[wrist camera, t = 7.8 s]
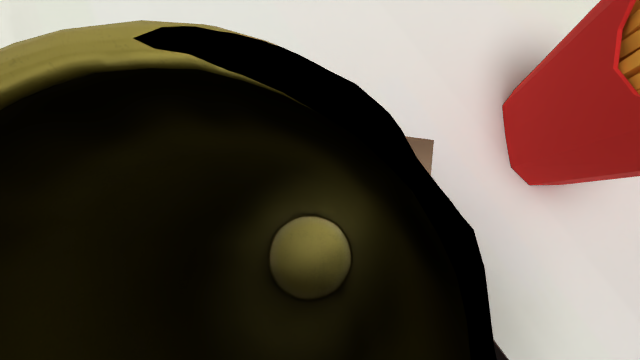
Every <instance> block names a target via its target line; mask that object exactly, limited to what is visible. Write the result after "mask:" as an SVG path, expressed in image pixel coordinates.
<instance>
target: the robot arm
mask: <svg viewBox="0 0 640 360" xmlns="http://www.w3.org/2000/svg"><path fill="white" fill-rule="evenodd" d="M493 341H494V340H493ZM494 348H495V353H496V358H497V360H509V359H508V358H507V357H506V355H505V354H504V353H503V351H502V350H501V349H500V347H499V346H498V345H497V344H496V342H495V341H494Z"/></svg>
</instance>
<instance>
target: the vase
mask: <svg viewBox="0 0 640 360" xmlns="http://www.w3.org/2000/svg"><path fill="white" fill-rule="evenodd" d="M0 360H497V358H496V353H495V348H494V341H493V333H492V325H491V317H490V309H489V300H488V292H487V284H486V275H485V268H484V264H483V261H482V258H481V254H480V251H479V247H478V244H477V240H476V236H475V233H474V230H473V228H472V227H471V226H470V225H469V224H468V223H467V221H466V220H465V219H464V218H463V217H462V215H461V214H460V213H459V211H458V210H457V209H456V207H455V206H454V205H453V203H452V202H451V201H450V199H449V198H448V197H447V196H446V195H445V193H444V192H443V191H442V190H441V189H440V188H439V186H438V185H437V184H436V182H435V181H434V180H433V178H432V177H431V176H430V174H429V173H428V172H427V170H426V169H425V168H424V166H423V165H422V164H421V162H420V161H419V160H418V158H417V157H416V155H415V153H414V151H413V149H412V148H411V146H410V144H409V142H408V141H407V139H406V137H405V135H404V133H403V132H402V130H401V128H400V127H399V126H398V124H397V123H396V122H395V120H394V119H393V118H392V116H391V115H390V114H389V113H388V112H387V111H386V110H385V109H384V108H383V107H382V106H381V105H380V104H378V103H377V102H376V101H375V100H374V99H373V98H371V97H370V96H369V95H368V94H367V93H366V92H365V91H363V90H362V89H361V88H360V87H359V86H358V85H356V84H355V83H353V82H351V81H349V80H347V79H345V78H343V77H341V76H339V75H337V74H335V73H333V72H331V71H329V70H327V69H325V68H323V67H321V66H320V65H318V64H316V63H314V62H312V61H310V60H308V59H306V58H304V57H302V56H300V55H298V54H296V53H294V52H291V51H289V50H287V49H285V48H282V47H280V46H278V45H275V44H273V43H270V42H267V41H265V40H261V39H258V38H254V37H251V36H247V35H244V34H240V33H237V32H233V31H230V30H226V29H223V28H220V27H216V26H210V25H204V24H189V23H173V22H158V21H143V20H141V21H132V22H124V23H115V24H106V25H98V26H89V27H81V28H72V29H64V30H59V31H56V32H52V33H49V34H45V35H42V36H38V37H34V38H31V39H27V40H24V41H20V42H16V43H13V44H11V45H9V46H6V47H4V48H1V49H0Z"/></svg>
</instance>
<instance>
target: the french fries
mask: <svg viewBox="0 0 640 360" xmlns="http://www.w3.org/2000/svg"><path fill="white" fill-rule="evenodd" d="M503 118H504V127H505V135H506V142H507V148H508V154H509V159H510V164H511V168H512V169H513V170H514V171H515V172H516V173H518V174H519V175H520V176H521V177H522V178H523V179H524V180H525V181H526V182H527V183H528V184H529V185H563V184H572V183H581V182H590V181H599V180H608V179H617V178H626V177H635V176H640V0H601V1H600V2H599V3H598V4H597V5H596V6H595V7H594V8H593V9H592V10H591V11H590V12H589V13H588V14H587V15H586V16H585V17H584V18H583V19H582V20H581V21H580V22H579V23H578V24H577V25H576V26H575V28H574V29H573V30H572V31H571V32H570V33H569V34H568V35H567V36H566V37H565V38H564V39H563V40H562V41H561V42H560V43H559V44H558V45H557V46H556V47H555V48H554V49H553V50H552V51H551V52H550V53H549V54H548V55H547V56H546V57H545V59H544V60H543V61H542V62H541V63H540V64H539V65H538V66H537V67H536V68H535V69H534V70H533V71H532V72H531V73H530V74H529V75H528V76H527V77H526V78H525V79H524V80H523V81H522V82H521V83H520V84H519V85H518V86H517V87H516V88H515V90H514V91H513V92H512V94H511V95H510V96H509V98H508V99H507V100H506V102H505V103H504V105H503Z"/></svg>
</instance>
